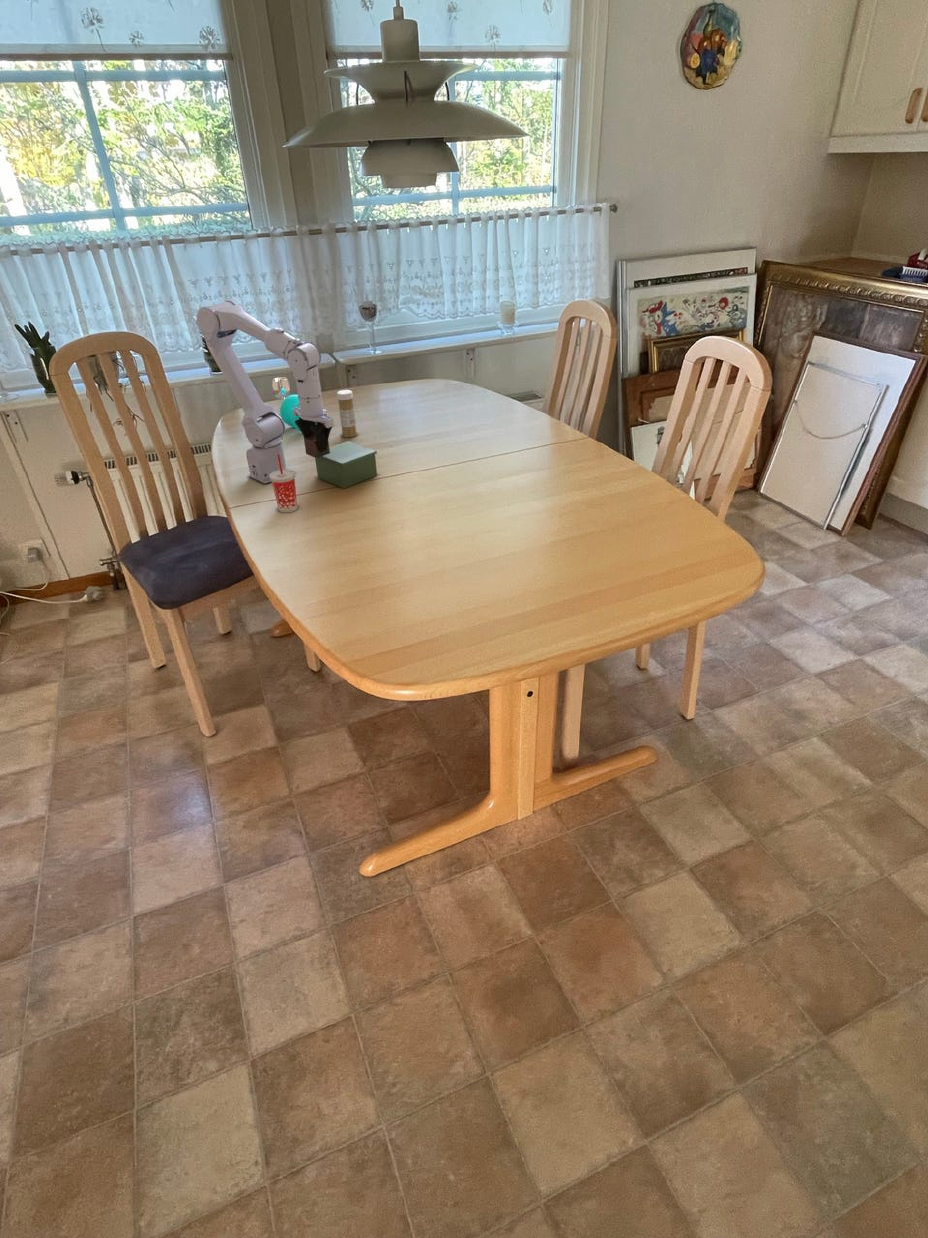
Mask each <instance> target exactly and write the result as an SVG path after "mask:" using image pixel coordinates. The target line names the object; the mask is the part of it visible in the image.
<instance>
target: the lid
mask: <svg viewBox="0 0 928 1238" xmlns="http://www.w3.org/2000/svg"><path fill="white" fill-rule="evenodd" d="M329 449H330V454H327V455H324V456H321V457H320V458H323V459H325V460H328V461H331V462H333V463H336V464H338V465H341V466H345V465H347V464H350V463H353V462H355V461H358V460H361V459H363V458H366V457H369V456H371V455H374V454H375V455H376V454H378V451H377V450H375V449H372V448H370V447H366V446H363V445H361V444H358V443H355V442H352V441H349V440H347V441H344V442H341V443H338V444H335V445H332V446H329Z"/></svg>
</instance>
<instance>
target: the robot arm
mask: <svg viewBox="0 0 928 1238" xmlns="http://www.w3.org/2000/svg"><path fill="white" fill-rule="evenodd" d="M195 325H196V326H197V328H198V330H199V331H200V333H201V335H202V337H203V339H204V340H205V343H206V347H207V349H208V350H209V352H210V354H211V356H212V357H213V359H214V361H215V363H216V365H217V367H218V368H219V370H220V373H222V375H223V377H224V379H225V380H226V382H227V384H228V386H229V388H230V389H231V391H232V393H233V395H234V396H235V399H236V400H237V403H239V405H240V407H241V409H242V411H243V412H244V414H243V417H242V419H241V425H242V427H243V429H244V433H245V437H246V439H247V440H248V442H249V443H250V444H251V445H252V446H251V447H250V448H248V449H247V450H246V452H245V453H246V454H245V455H246V461H247V465H248V471H249V474H248V476H249V477H250V478H252V479H254V480H256V481H258V482H261V483H262V484H268V483H272V482H271V480H270V478H269V475H270V474H271V473H272V472H275V471H278V470H280V466H279V460H278V454H279V455H280V460H281V466H282V470H290V469H289V468H287V463H286V457H285V452H284V446H283V440H284V435H285V433H286V430H287V429H286V428H287V427H286V423H285V422H284V421H283V419H282V418H281V417H280V415H279V414H278V412H277V411H276V410H275V408H274V407H273V406H271V405H269V404H266V403H264V401H263V399H262V398H261V396H260V394H259V393H258V390H257V389H256V387H255V385H254V384H253V382H252V379H251V378H250V376H249V374H248V373H247V371H246V369H245V368H244V366H243V364H242V362H241V360H240V358H239V356H238V355H237V353H236V351H235V350H234V348H233V346H232V344H233V339H234V337H235V336H236V334H237V332H238V331H241V332H242V333H244V334H247V335H249V336H251V337H252V338H254V339H256V340H258V341H260V342H262V343H263V344H264V347H265V349H266V350H267V351H268V352H270V353H272V354H273V355H275V356H276V357H279V358H280V359H282V360H283V361H285V362H286V363H287V365H288V367H289V368H290V369H291V371H292V375H293V378H294V380H295V387H296V392H297V393H296V394H297V395H298V399H299V406H300V407H295V408H293V415H294V416H299V420H296V421H295V424H296V425H297V426H298V428H299V429H300V431H301V434H302V436H303V438H304V437H307V436H311V435H314V436H315V439H316V442H317V447H318V450H319V452H323V451H326V450H327V446H328V442H329V438H330V434H331V431H332V429H333V427H334V426H335V422H334V418H333V417H331V416H329V415H328V410H327V409H325V408H324V404H323V395H322V389H321V382H320V375H319V374H320V373H319V367H318V366H319V365H320V364H321V361H322V354H321V351H320V349H319V347H318V346H317V345H316V344H315V343H313V342H312V341H305V342H304V341H301V339H300V338H298V337H297V338H296V337H294V336H292V335H291V334H290V333H287V332H285V329H284V328H282V327H274V328H269V327H268V326H266V325H265V324H264V323H262V322H260V321H259V320H258V319H256V318H254V317H253V316H251V315H250V314H249V313H247V312H246V311H244V309H243V307H242V305H240V304H237V303H235V302H234V301H233V300H229V299H228V300H227V299H226V300H224V301H222V302H219V303H215V304H210V305H207V306H201V307H199V309H198V310H197V314H196V321H195ZM316 423H317V425H316ZM300 431H299V432H300Z"/></svg>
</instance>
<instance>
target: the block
mask: <svg viewBox="0 0 928 1238" xmlns="http://www.w3.org/2000/svg"><path fill="white" fill-rule="evenodd" d="M303 440H304V441H303V442H304V448H305V454H306V455H308V456H309V457H313V458H314V459H315V458H318V457H321V456H324V455H327V454H330V449H329V448H330V442H329V441H328V446H327V450H326V451H323V452H319V450H318V447H317V442H316V439H315V436H314V435H311V436H307V437H303Z"/></svg>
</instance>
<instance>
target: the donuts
mask: <svg viewBox="0 0 928 1238" xmlns="http://www.w3.org/2000/svg"><path fill="white" fill-rule="evenodd" d="M295 407H300V406H299V399H298V394H290V396H288V397H286V398H285V399H284V401H283V402H282V401H281V404H280V407H279V414H280V415H281V418H282V419H283V421H284V423H285V425H287V426H289V427H292V428H294V429H295V430H297V431H299V432H301V431H300V429H299V428H298V426H297V425H296V424H295V421H296V420H299V416H294V415H293V408H295ZM280 415H279V416H280ZM316 425H317V423H316ZM301 433H302V432H301Z"/></svg>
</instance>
